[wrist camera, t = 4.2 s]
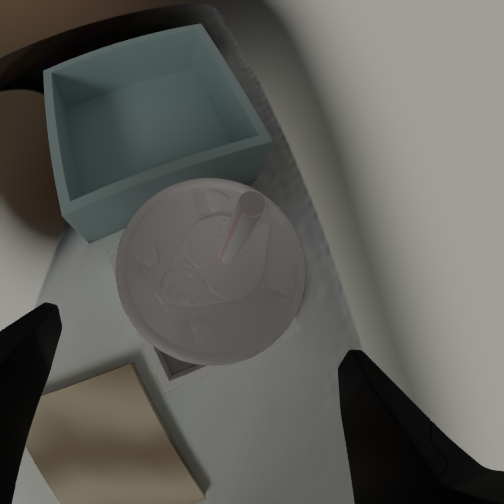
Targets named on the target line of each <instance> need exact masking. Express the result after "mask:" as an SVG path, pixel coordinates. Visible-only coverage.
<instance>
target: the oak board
mask: <svg viewBox="0 0 504 504" xmlns="http://www.w3.org/2000/svg"><path fill="white" fill-rule="evenodd" d="M26 447H27V449H28V451H29V453H30V455H31V457H32V458H33V460H34V462H35V464H36V465H37V467H38V469H39V471H40V472H41V474H42V476H43V477H44V479H45V480H46V482H47V484H48V485H49V487H50V488H51V490H52V491H53V493H54V494H55V496H56V497H57V499H58V500H59V502H60V503H61V504H194V503H197V502H199V501H202V500H205V499H206V494H205V492H204V491H203V489H202V488H201V486H200V485H199V483H198V482H197V480H196V479H195V477H194V475H193V474H192V472H191V471H190V469H189V467H188V466H187V464H186V463H185V461H184V459H183V458H182V456H181V454H180V453H179V451H178V449H177V448H176V446H175V444H174V442H173V441H172V439H171V437H170V435H169V433H168V432H167V430H166V428H165V426H164V424H163V422H162V421H161V419H160V417H159V415H158V413H157V411H156V409H155V407H154V405H153V403H152V401H151V399H150V397H149V395H148V393H147V391H146V389H145V387H144V385H143V383H142V381H141V379H140V377H139V374H138V372H137V370H136V368H135V366H134V364H133V362H132V363H130V364H127V365H125V366H122V367H120V368H117V369H114V370H112V371H109V372H106V373H104V374H101V375H98V376H96V377H93V378H90V379H88V380H85V381H82V382H79V383H77V384H74V385H71V386H68V387H65V388H63V389H60V390H57V391H54V392H51V393H48V394H45V395H42V396H41V398H40V401H39V404H38V406H37V409H36V412H35V415H34V419H33V422H32V425H31V428H30V431H29V435H28V438H27V441H26Z"/></svg>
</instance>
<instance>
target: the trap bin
mask: <svg viewBox="0 0 504 504" xmlns="http://www.w3.org/2000/svg"><path fill="white" fill-rule="evenodd" d="M44 94H45V108H46V119H47V129H48V138H49V146H50V152H51V160H52V166H53V172H54V178H55V184H56V188H57V193H58V199H59V204H60V208H61V213H62V216H63V218H64V219H65V220H66V221H67V222H68V223H69V224H70V225H71V226H72V227H73V228H74V229H75V230H76V231H77V232H78V233H79V234H80V235H81V236H82V237H83V238H84V239H85V240H86V241H87V242H88V243H91V242H93V241H95V240H98V239H100V238H102V237H105V236H107V235H110V234H112V233H115V232H117V231H119V230H122V229H124V228H126V227H127V225H128V223H129V222H130V220H131V219H132V217H133V216H134V214H135V213H136V212H137V211H138V210H139V208H140V207H141V206H142V205H143V204H144V203H145V202H147V201H148V200H149V199H150V198H151V197H153V196H154V195H156V194H157V193H158V192H160V191H162V190H164V189H165V188H167V187H170V186H172V185H174V184H177V183H180V182H183V181H187V180H191V179H198V178H220V179H227V180H231V181H236V182H239V183H242V184H246V183H249V182H252V181H255V180H256V178H257V176H258V174H259V171H260V169H261V167H262V165H263V163H264V160H265V158H266V156H267V154H268V151H269V149H270V147H271V145H272V143H273V140H272V138H271V137H270V135H269V133H268V131H267V129H266V128H265V126H264V124H263V122H262V121H261V119H260V117H259V116H258V114H257V112H256V110H255V109H254V107H253V105H252V104H251V102H250V100H249V99H248V97H247V95H246V94H245V92H244V90H243V89H242V87H241V85H240V84H239V82H238V80H237V79H236V77H235V76H234V74H233V72H232V71H231V69H230V68H229V66H228V64H227V63H226V61H225V60H224V58H223V56H222V55H221V53H220V52H219V50H218V49H217V47H216V46H215V44H214V42H213V41H212V39H211V38H210V36H209V35H208V33H207V32H206V30H205V29H204V27H203V26H202V24H196V25H190V26H185V27H180V28H175V29H170V30H166V31H161V32H157V33H153V34H149V35H145V36H141V37H137V38H133V39H130V40H126V41H123V42H120V43H116V44H113V45H110V46H107V47H104V48H101V49H98V50H95V51H92V52H89V53H86V54H84V55H81V56H78V57H76V58H73V59H70V60H68V61H65V62H63V63H61V64H58V65H56V66H54V67H51V68H49V69H47V70H44Z"/></svg>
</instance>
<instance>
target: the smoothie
mask: <svg viewBox="0 0 504 504" xmlns="http://www.w3.org/2000/svg"><path fill="white" fill-rule="evenodd" d="M116 282H117V289H118V293H119V297H120V300H121V303H122V305H123V308H124V310H125V312H126V314H127V316H128V317H129V319H130V321H131V322H132V324H133V325H134V327H135V328H136V329H137V331H138V332H139V333H140V334H141V335H142V336H143V337H144V338H145V339H146V340H147V341H148V342H149V343H151V344H152V345H153V346H154V347H156V348H157V349H159V350H160V351H162V352H164V353H165V354H167V355H169V356H171V357H173V358H176V359H178V360H181V361H184V362H188V363H192V364H197V365H206V366H218V365H227V364H232V363H237V362H240V361H243V360H246V359H249V358H251V357H253V356H255V355H257V354H259V353H261V352H262V351H264V350H265V349H267V348H268V347H269V346H271V345H272V344H273V343H274V342H275V341H277V340H278V339H279V338H280V337H281V336H282V334H283V333H284V332H285V331H286V330H287V328H288V327H289V326H290V324H291V323H292V321H293V319H294V318H295V316H296V314H297V312H298V309H299V307H300V304H301V301H302V298H303V294H304V289H305V282H306V265H305V258H304V253H303V249H302V245H301V242H300V239H299V237H298V235H297V233H296V230H295V229H294V227H293V225H292V223H291V222H290V220H289V219H288V218H287V216H286V215H285V214H284V213H283V211H282V210H281V209H280V208H279V207H278V206H277V205H276V204H275V203H274V202H273V201H271V200H270V199H269V198H268V197H266V196H265V195H263V194H262V193H260V192H259V191H257V190H255V189H253V188H251V187H249V186H247V185H244V184H242V183H239V182H236V181H231V180H227V179H220V178H198V179H191V180H187V181H183V182H180V183H177V184H174V185H172V186H170V187H167V188H165V189H164V190H162V191H160V192H158V193H157V194H156V195H154V196H153V197H151V198H150V199H149V200H148V201H147V202H145V203H144V204H143V205H142V206H141V207H140V208H139V210H138V211H137V212H136V213H135V214H134V216H133V217H132V219H131V220H130V222H129V223H128V225H127V227H126V229H125V231H124V233H123V236H122V238H121V241H120V244H119V248H118V252H117V258H116Z"/></svg>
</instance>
